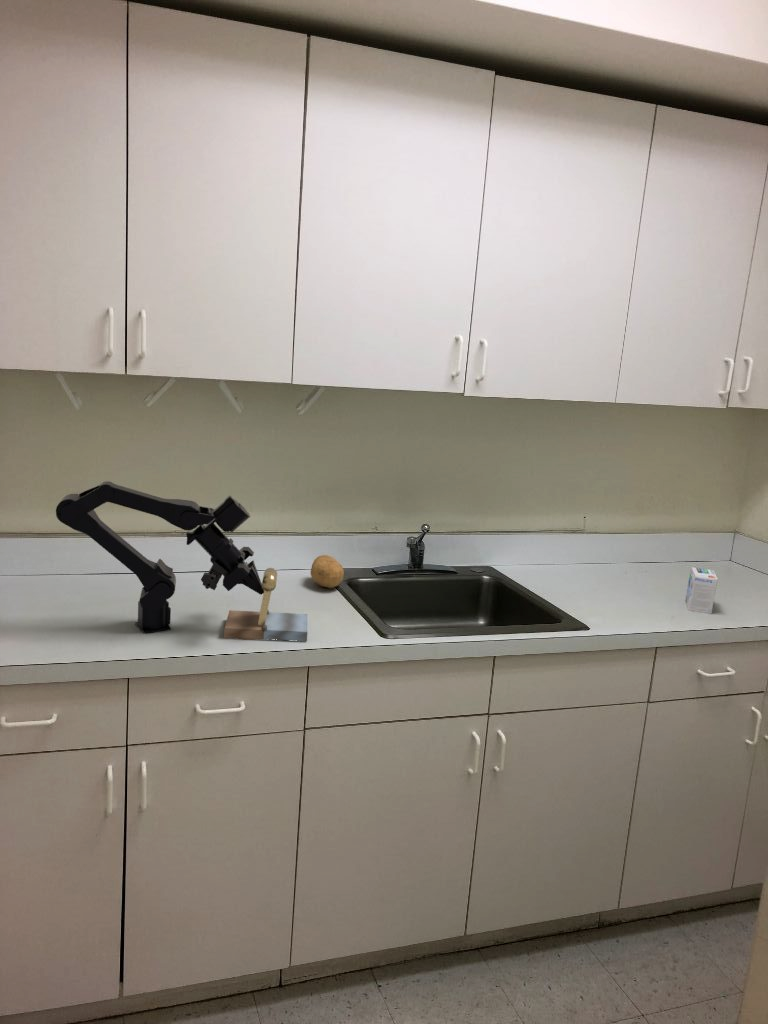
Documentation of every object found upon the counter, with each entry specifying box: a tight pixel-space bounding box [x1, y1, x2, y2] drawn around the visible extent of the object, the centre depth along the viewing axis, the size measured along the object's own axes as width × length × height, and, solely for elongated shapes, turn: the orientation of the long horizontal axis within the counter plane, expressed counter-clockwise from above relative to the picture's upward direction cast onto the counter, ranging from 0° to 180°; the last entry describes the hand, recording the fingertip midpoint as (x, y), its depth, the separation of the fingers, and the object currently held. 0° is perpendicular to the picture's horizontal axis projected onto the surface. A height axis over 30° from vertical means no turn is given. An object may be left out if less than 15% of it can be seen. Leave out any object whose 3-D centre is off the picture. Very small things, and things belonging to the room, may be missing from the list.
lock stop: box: [258, 567, 278, 626], centre depth 191 cm, size 3×8×12 cm, turn 6°
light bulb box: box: [684, 566, 719, 615], centre depth 240 cm, size 11×7×11 cm, turn 165°
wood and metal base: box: [223, 609, 308, 642], centre depth 193 cm, size 19×12×3 cm, turn 96°
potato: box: [310, 554, 345, 589], centre depth 230 cm, size 10×14×8 cm
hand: (262, 593), depth 191 cm, fingers closed, pressing on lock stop
